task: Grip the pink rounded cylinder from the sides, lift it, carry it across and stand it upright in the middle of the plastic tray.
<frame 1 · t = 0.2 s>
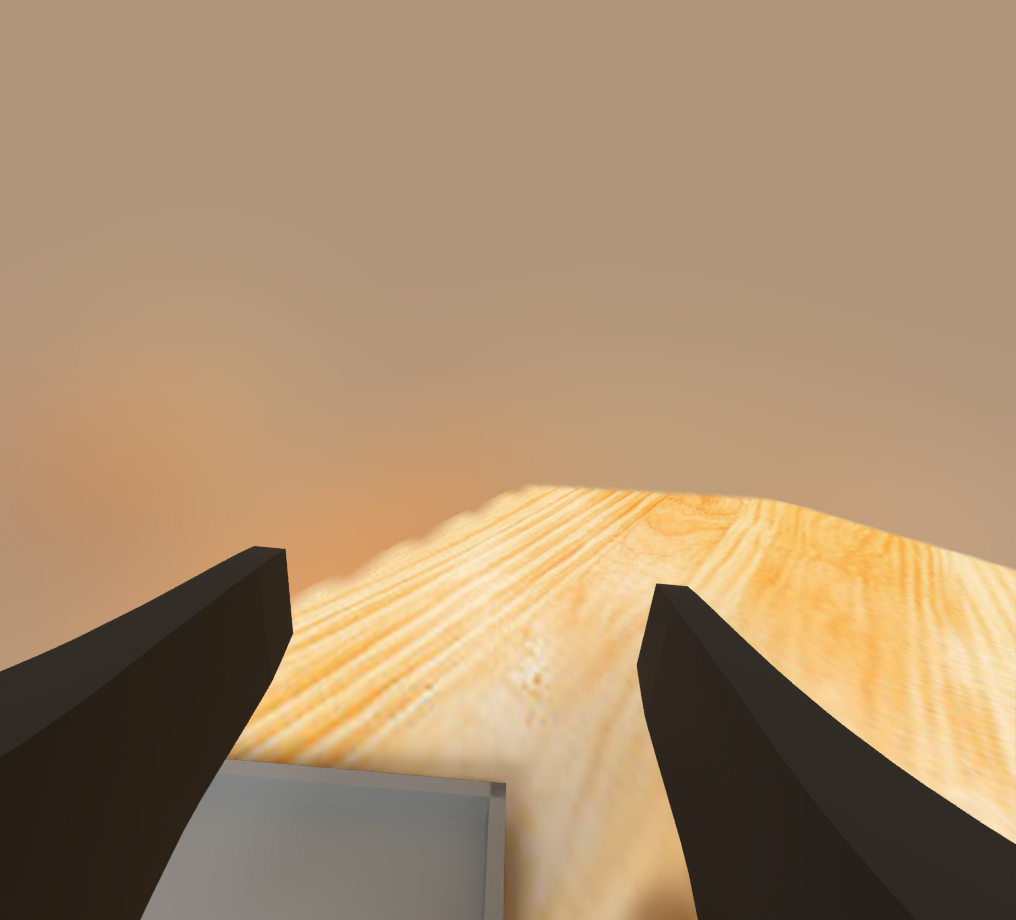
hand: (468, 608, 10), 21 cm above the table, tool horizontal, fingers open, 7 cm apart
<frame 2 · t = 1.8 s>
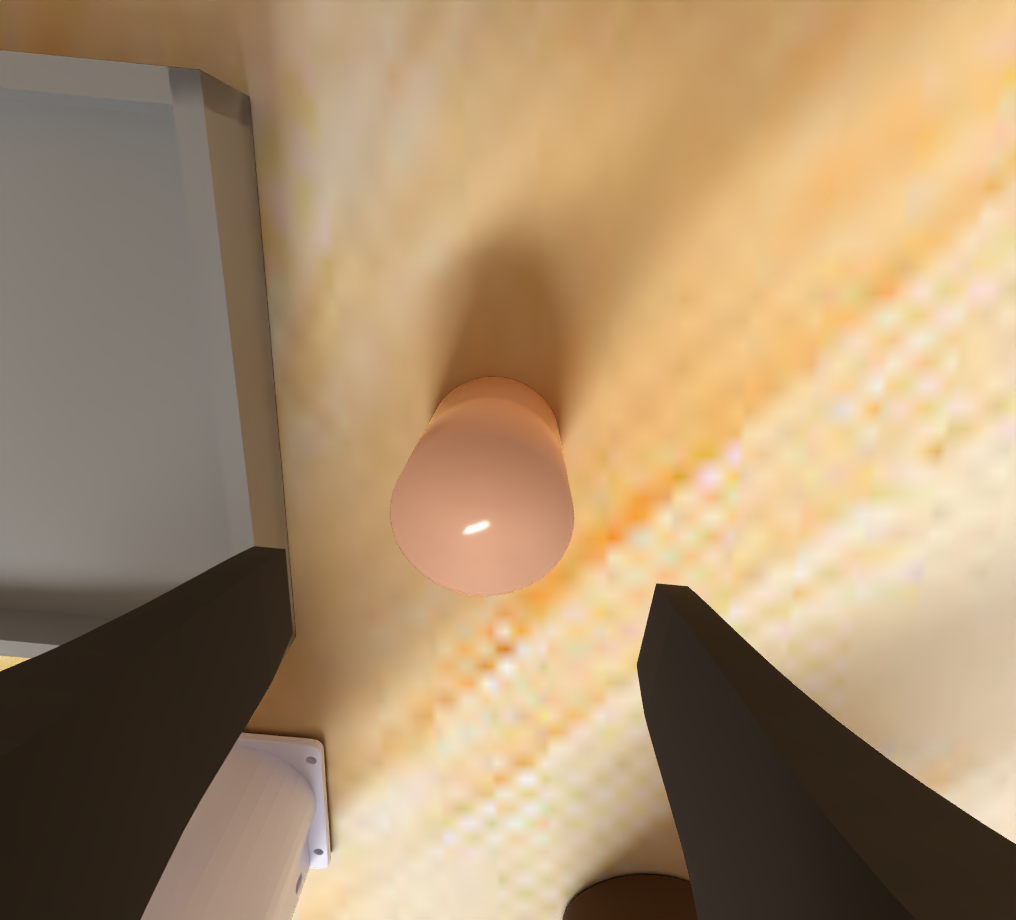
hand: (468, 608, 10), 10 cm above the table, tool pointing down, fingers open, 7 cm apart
pink rounded cylinder: (494, 440, 19), on the table
tray: (4, 395, 19), on the table
olive oil: (641, 918, 30), on the table
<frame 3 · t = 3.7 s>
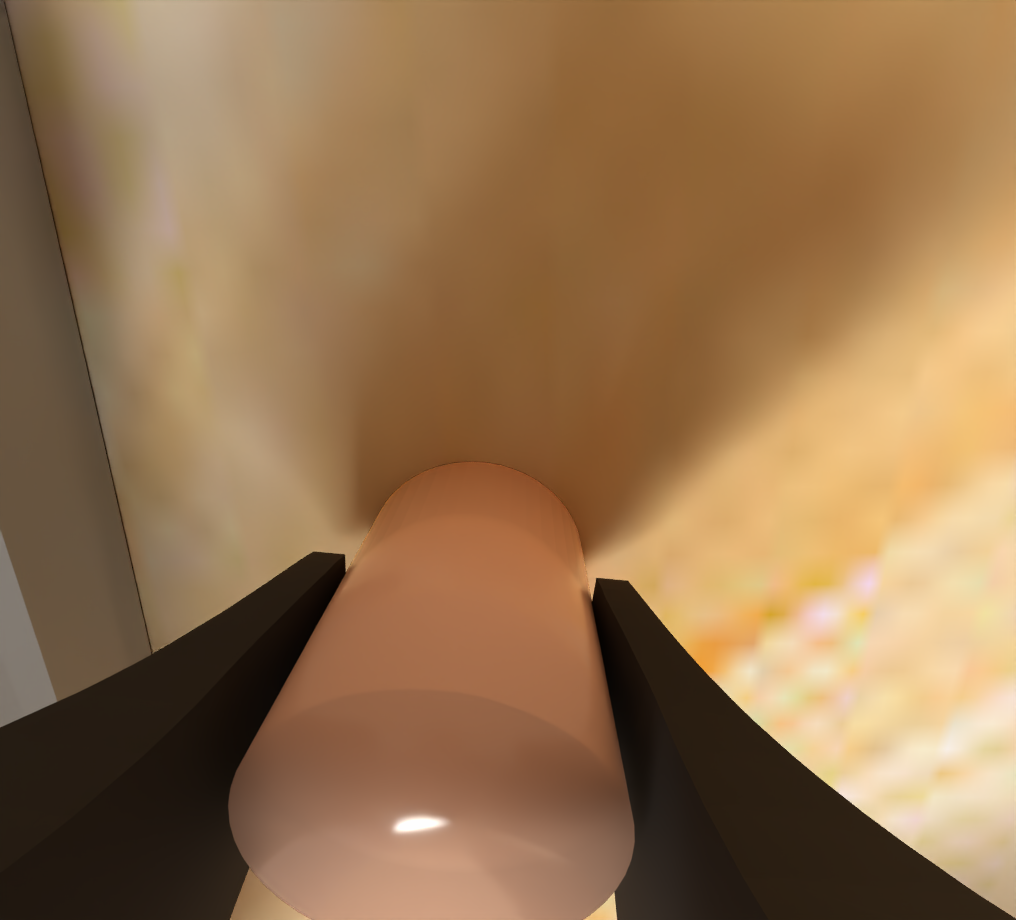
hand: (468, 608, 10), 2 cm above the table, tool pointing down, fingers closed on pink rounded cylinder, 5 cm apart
pink rounded cylinder: (475, 559, 12), on the table, touching gripper
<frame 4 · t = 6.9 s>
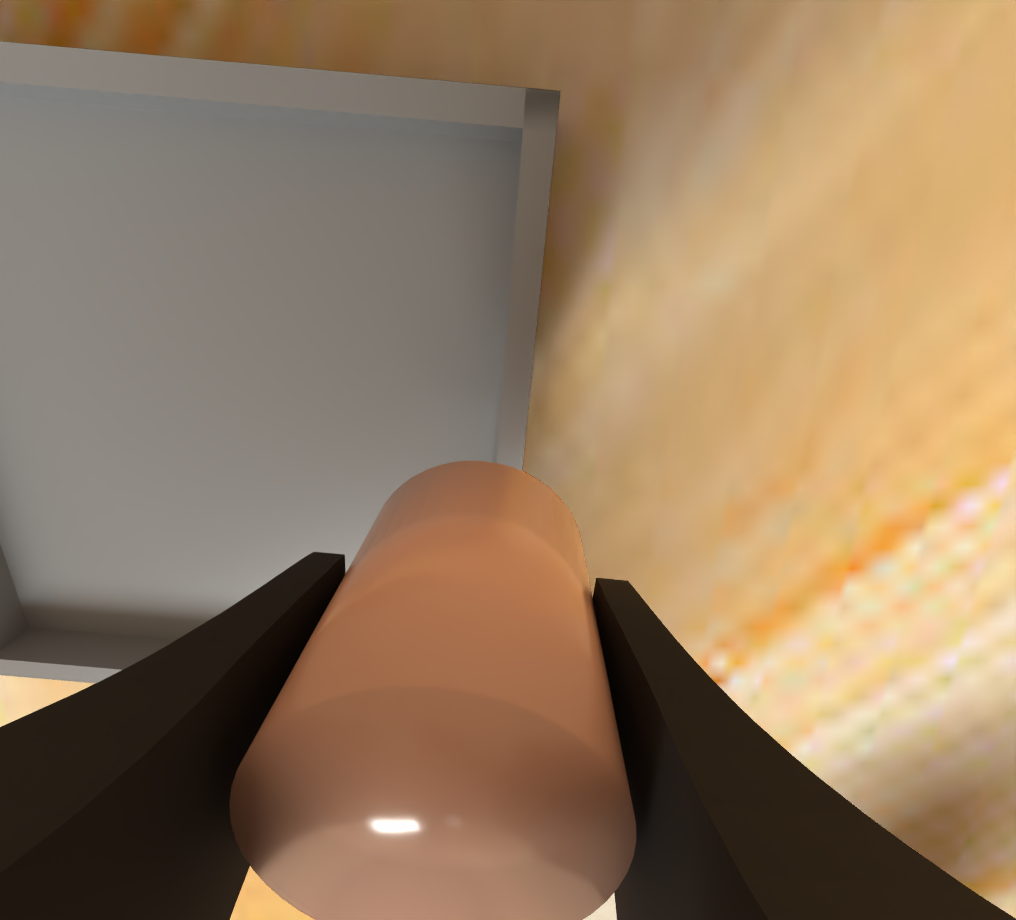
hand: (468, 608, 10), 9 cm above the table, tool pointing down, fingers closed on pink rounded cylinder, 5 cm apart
pink rounded cylinder: (476, 558, 12), point 7 cm above the table, touching gripper
tray: (238, 426, 18), on the table
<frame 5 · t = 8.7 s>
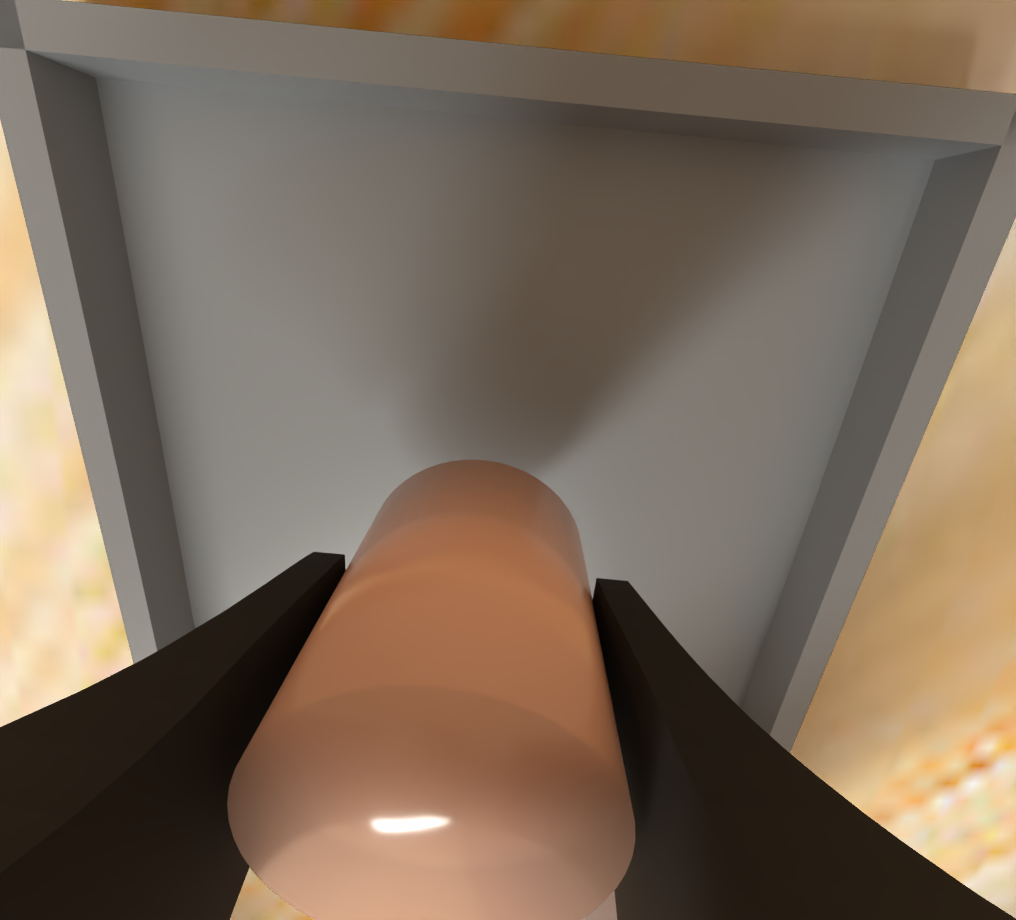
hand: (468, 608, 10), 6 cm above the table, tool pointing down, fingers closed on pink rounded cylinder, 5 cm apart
pink rounded cylinder: (475, 557, 12), point 4 cm above the table, touching gripper
tray: (488, 484, 15), on the table
when the fingers open (4 cm above the table, at t = 10.1 s): pink rounded cylinder drops 1 cm, resting on tray.
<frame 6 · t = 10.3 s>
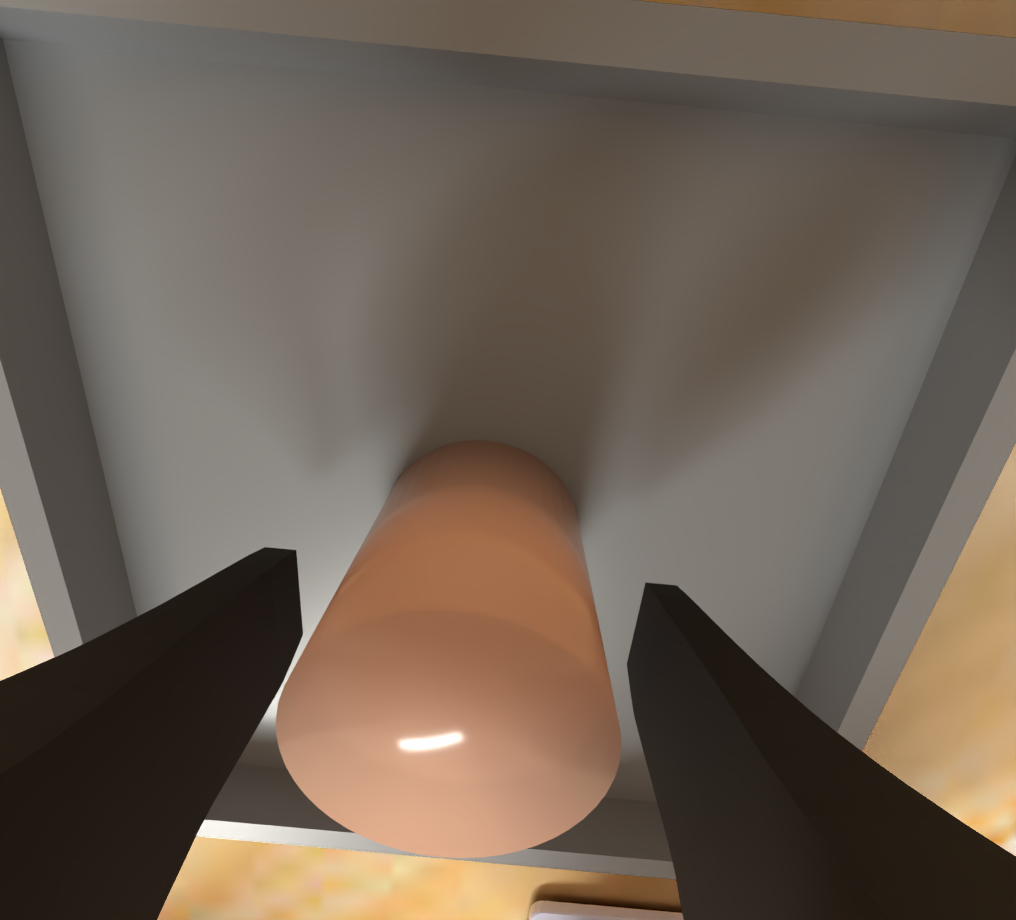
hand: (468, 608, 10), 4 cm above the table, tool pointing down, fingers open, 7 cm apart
pink rounded cylinder: (481, 531, 13), point 1 cm above the table, touching tray
tray: (482, 517, 13), on the table
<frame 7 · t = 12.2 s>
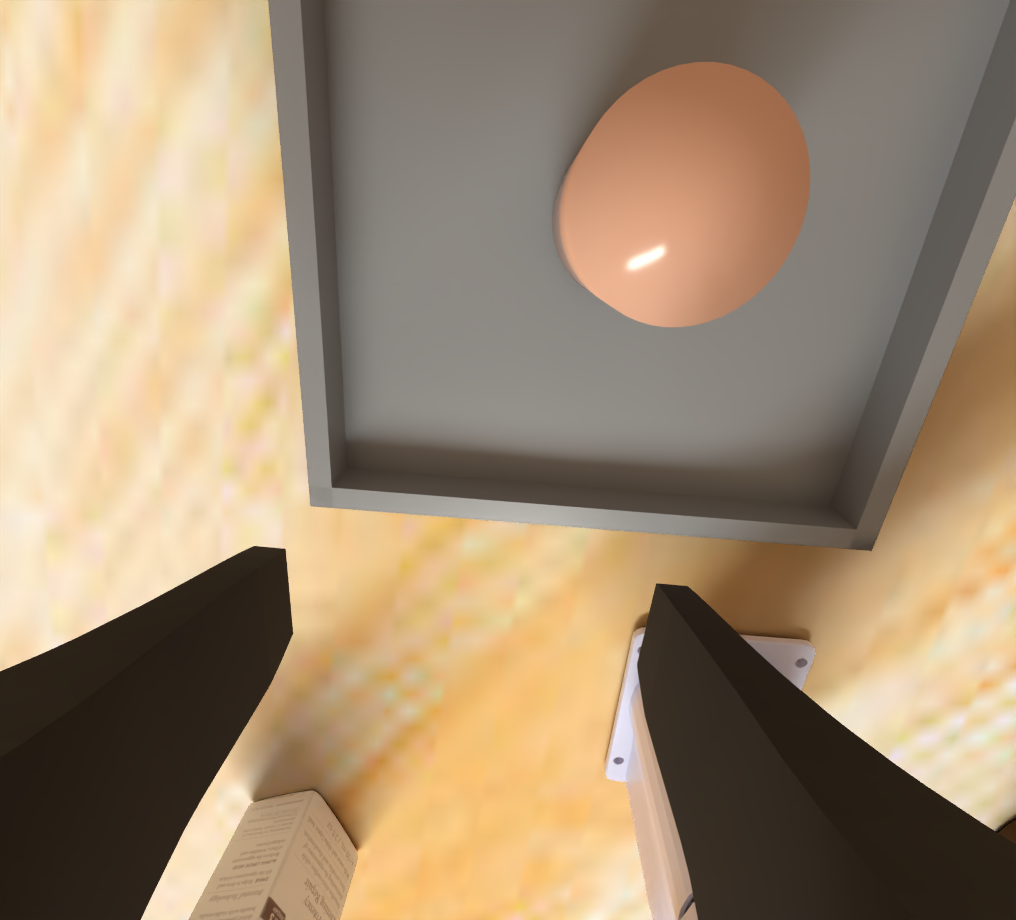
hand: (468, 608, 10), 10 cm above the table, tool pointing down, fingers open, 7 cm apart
pink rounded cylinder: (629, 219, 16), point 1 cm above the table, touching tray
tray: (623, 222, 17), on the table
skincare box: (304, 822, 29), on the table
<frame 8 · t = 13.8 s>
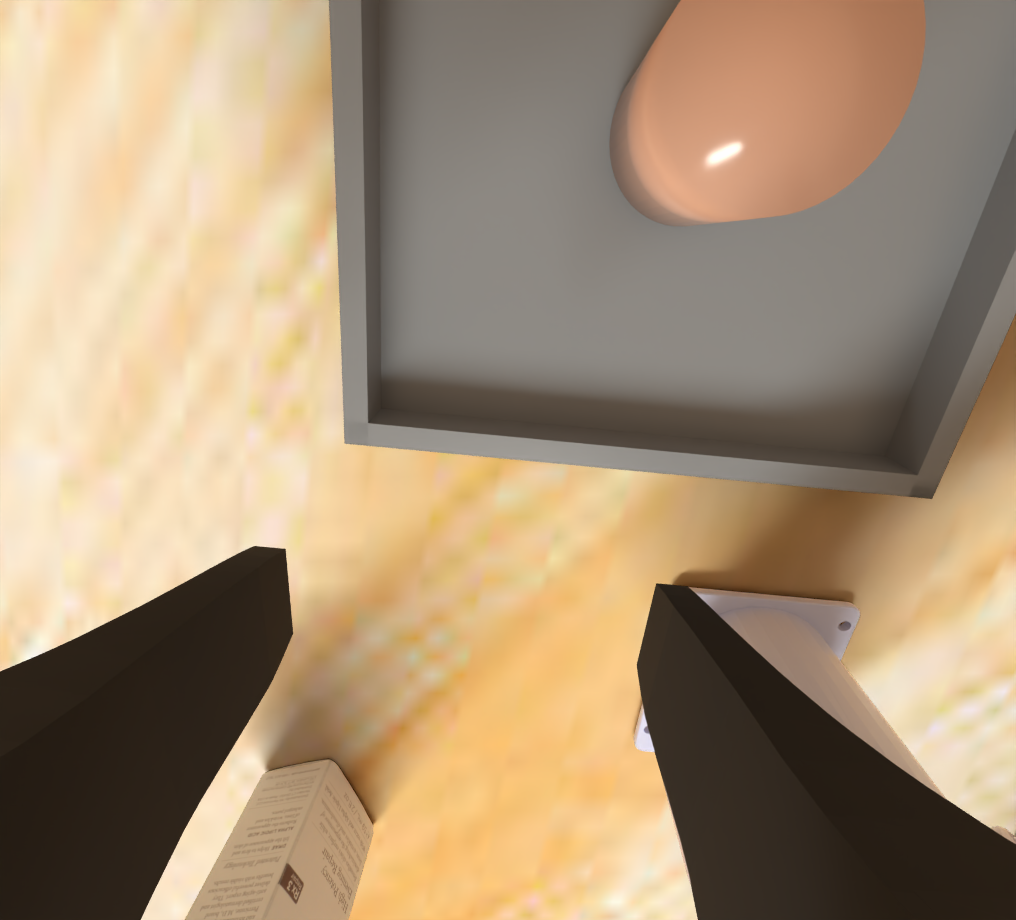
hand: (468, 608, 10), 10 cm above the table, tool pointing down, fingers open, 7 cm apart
pink rounded cylinder: (691, 137, 15), point 1 cm above the table, touching tray
tray: (682, 144, 16), on the table
skincare box: (319, 793, 28), on the table
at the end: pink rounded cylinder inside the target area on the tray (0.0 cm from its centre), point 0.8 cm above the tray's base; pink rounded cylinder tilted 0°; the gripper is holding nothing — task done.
